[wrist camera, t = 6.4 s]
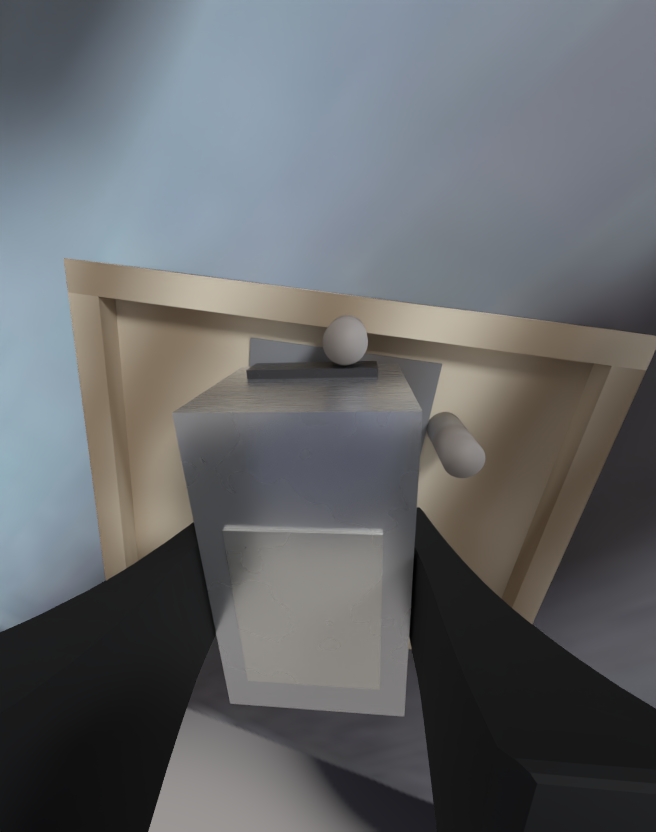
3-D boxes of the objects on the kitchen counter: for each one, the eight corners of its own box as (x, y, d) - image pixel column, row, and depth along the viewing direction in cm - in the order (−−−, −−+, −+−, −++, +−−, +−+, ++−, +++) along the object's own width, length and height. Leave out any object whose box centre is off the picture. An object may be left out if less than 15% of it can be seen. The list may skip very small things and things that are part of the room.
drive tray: (613, 329, 12) (719, 345, 8) (495, 624, 17) (531, 711, 13) (107, 263, 13) (11, 252, 9) (135, 564, 17) (78, 633, 14)
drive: (398, 355, 11) (424, 400, 6) (390, 586, 14) (404, 721, 10) (241, 359, 11) (166, 402, 7) (268, 581, 14) (229, 707, 10)
